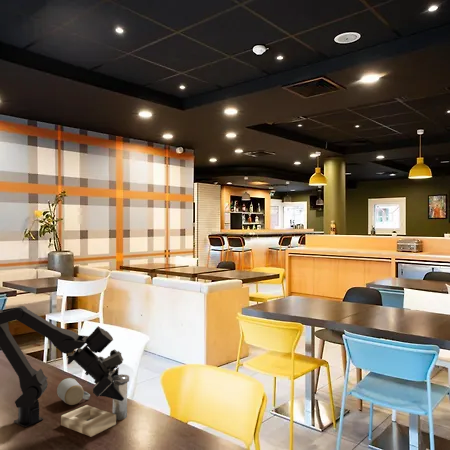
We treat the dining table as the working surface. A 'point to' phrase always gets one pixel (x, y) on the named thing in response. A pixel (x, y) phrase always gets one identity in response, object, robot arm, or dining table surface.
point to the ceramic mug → (71, 391)
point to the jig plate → (93, 426)
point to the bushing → (121, 385)
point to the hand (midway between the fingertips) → (124, 394)
